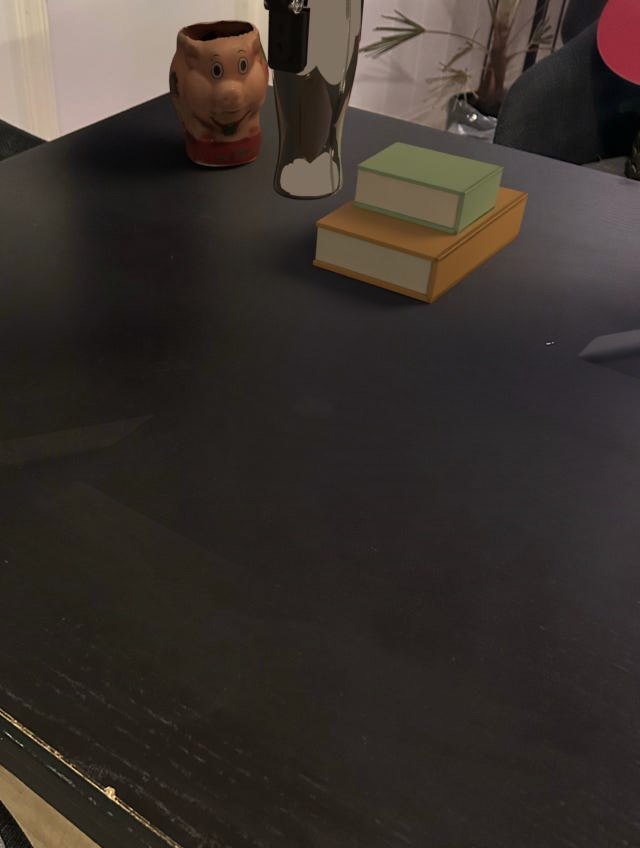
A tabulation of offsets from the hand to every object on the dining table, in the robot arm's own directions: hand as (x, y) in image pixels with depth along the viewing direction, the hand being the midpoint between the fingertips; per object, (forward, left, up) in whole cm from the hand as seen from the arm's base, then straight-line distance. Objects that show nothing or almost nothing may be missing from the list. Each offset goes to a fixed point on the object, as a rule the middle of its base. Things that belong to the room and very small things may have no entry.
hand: (314, 54), depth 73 cm
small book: (-3, -18, -17) cm, 25 cm away
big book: (-3, -18, -22) cm, 28 cm away
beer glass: (0, 0, -10) cm, 10 cm away
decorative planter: (+32, -28, -22) cm, 48 cm away
